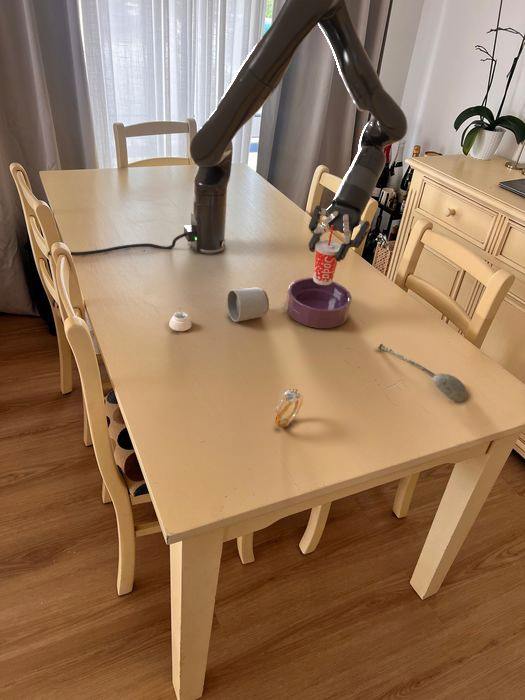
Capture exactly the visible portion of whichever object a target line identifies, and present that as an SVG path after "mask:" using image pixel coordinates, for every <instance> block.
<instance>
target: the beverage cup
mask: <svg viewBox="0 0 525 700" xmlns="http://www.w3.org/2000/svg"><path fill="white" fill-rule="evenodd" d="M333 231H334V230H333V225H331V230H330V231H329V237H328V239H323V240H320V241H318V242H317V243H316V244H315V255H314V265H313V275H312V276H313V277H312V278H313V281H314V282H315V283H317V284H320V285H329V284H331V283H332V281H333V280H334V276H335V273H336V269H337V265H338V262H339V261H337V260H336V255H337V253H338V251H339V249H340V247H341V245H342V244H340V243H339V242H336V241H334V240H332V237H333ZM333 282H334V281H333Z"/></svg>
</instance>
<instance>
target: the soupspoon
mask: <svg viewBox="0 0 525 700" xmlns="http://www.w3.org/2000/svg"><path fill="white" fill-rule="evenodd" d="M377 350H378V351H385V352H388V353H389V354H392V355H394V356H396V357H398V358H400V359H402V360H403V361H405V362H407V363H408V364H410V365H412V366H414V367H416V368H418V369H419V370H421V371H422V372H424V373H426V374H427V375H429V376H430V377H432V381H433V383H434V385H435V386H436V387H437V389H439V390H440V391H441V392H442V393H443V394H444V395H445V396H446V397H447V398H449V399H450V400H452V401H455V402H458V403H461V402H462V403H463V402H465V401H466V400H467V398H468V390H467V388H466V386H465V385H464V383H463V381H461V380H460V379H458V377H456V376H454V375H451V374H449V373H434V372H432V371H431V370H430V369H427V368H426V367H425V366H423V365H420V364H419V363H417V362H416V361H413V360H411V359H409V358H407V357H405V356H404V355H401V354H399V353H398V352H396V351H394V350H392V349H391V348H388V347H387V346H385V345H384V344H383V343H379V345H377Z"/></svg>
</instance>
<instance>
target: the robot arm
mask: <svg viewBox="0 0 525 700" xmlns="http://www.w3.org/2000/svg"><path fill="white" fill-rule="evenodd" d="M317 25H318V26H319V28H320V29H321V31H322V33H323V34H324V36H325V38H326V40H327V42H328V44H329V46H330V48H331V50H332V54H333V56H334V59H335V61H336V65H337V68H338V71H339V75H340V76H341V79H342V81H343V84H344V86H345V88H346V91H347V92H348V94H349V96H350V99H352V101H353V104H354V106H355V107H356V109H357V110H358V111H360V112H369V114H371V116H372V117H373V118H371V119H370V120H369V121H368V122H367V123H366V125H365V126H364V128H363V130H362V133H361V136H360V139H359V144H358V150H357V154H356V155H355V157H354V159H353V161H352V163H351V165H350V167H349V169H348V170H347V172H346V174H345V175H344V177H343V179H342V181H341V182H340V185H339V187H338V189H337V191H336V194H335V196H334V197H333V200H332V202H331V205H329V207H327V208H323V207H321V206H320V205H316V206H315V207H314V210H313V212H312V215H311V218H310V220H309V223H308V229H309V231H310V233H311V234H312V236H311V238H310V240H309V243H308V249H309V251H310V252H311V253H315V252H316V249H315V244H316V243H317V242H318V241H321V238H322V237H323V236H324V235H325V234H328V233H330V231H331V225H333V231H334V232H339V233H340V234H343V243H341V244H340V245H341V247H340V249H339V251H338V253H337V255H336V260H337V261H338V262H339V263H340V262H341V261H343V260H345V258H346V256H347V254H348V252H349V250H350V249H351V248H355V249H359V248H360V246H361V245H362V243H363V242H364V240H365V239H366V237H367V235H368V234H369V232H370V230H371V229H372V227H371V222H370V221H368V220H362V216H363V214H364V213H365V210H366V208H367V206H368V204H369V202H370V200H371V198H372V197H373V194H374V192H375V189H376V186H377V183H378V180H379V179H380V177H381V174H382V172H383V170H384V168H385V165H386V163H387V157H386V154H385V152H384V150H385V148H386V147H387V146H391V145H393V144H396V143H398V142H401V141H402V140H403V139H405V137H406V135H407V133H408V127H409V126H408V119H407V116H406V115H405V112H404V111H403V109H402V108H401V106H400V105H398V103H397V102H396V101H395V99H394V98H393V96H391V95H390V94H389V93H388V92H387V91H386V89H385V87H384V86H383V83H382V82H381V79H380V77H379V75H378V73H377V71H376V69H375V67H374V65H373V63H372V61H371V59H370V57H369V55H368V53H367V51H366V50H365V47H364V45H363V43H362V41H361V39H360V36H359V34H358V32H357V30H356V27H355V24H354V22H353V20H352V16H351V14H350V11H349V9H348V5H347V2H346V0H285V1H284V3H283V4H282V7H281V8H280V10H279V11H278V14H277V15H276V17H275V19H274V20H273V22H272V23H271V25H270V26H269V28H268V29H267V30H266V31H265V33H264V34H263V35H262V37H261V38H260V39H259V41H258V42H257V43H256V45H255V46H254V47H253V49H252V50H251V52H249V54H248V55H247V57H246V59H245V60H244V61H243V63H242V65H241V66H240V68H239V69H238V71H237V73H236V74H235V75H234V77H233V79H232V80H231V83H230V84H229V86H228V87H227V89H226V90H225V92H224V94H223V96H222V97H221V99H220V101H219V103H218V105H217V107H216V108H215V110H214V111H213V112H212V113H211V115H210V116H209V118H208V119H207V120H206V121H205V123H204V124H203V125H202V126H201V127H200V129H199V130H198V131H197V132H196V133H195V134H194V135H193V137H192V139H191V141H190V144H189V155H190V158H191V161H192V162H193V163H194V165H195V166H196V167H198V169H197V172H196V174H195V176H194V179H193V197H192V199H193V202H192V204H193V205H192V209H193V210H192V212H191V213H190V224H189V225H183V233H181V234H179V235H177V236H176V237H174V238H173V240H172V242H171V245H167V246H166V245H159V244H154V243H149V242H148V243H146V242H145V243H131V244H123V245H117V246H112V247H108V248H107V247H106V248H102V249H101V248H100V249H93V250H86V251H70V250H69V251H70V252H71V255H70V256H86V255H95V254H103V253H109V252H113V251H117V250H124V249H132V248H133V249H134V248H145V247H146V248H154V249H162V250H172V249H173V248H175V246H176V243H177V241H179V240H180V239H182V238H185V240H186V241H187V243H190V245H191V247H192V248H193V250H194V251H195V253H201V254H208V255H214V254H219V253H221V252H223V251H224V250H225V246H226V239H227V238H226V222H227V221H226V220H227V204H228V203H227V201H228V187H229V183H230V180H231V173H232V165H233V150H234V149H233V140H234V138H235V136H236V135H237V134H238V132H239V131H240V130H241V129H242V128H243V126H245V125H246V124H247V123H248V122H249V121H250V120H251V119H252V118H253V117H254V116H255V115H257V113H258V112H259V110H261V109H262V107H263V106H264V105H265V104H266V103H267V102H268V100H269V99H270V98H271V96H272V95H273V93H274V92H275V91H276V89H277V88H278V87H279V85H280V83H281V82H282V81H283V79H284V77H285V75H286V73H287V71H288V69H289V67H290V65H291V63H292V61H293V59H294V57H295V54H296V53H297V51H298V49H299V48H300V46H301V45H302V43H303V42H304V41H305V39H307V37H308V36H309V34H310V33H311V32H312V31H313V30H314V28H315V27H316V26H317ZM325 216H326V218H325V219H324V220H323V221H322V222H321V223H320V220H321V219H323V218H324V217H325ZM319 223H320V224H319ZM356 227H358V229H359V230H358V232H357V233H356V235H355V237H353V239H352V230H353V229H355V228H356ZM50 251H51V250H49V251H48V253H47V255H49V256H50V255H51V254H50Z"/></svg>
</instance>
